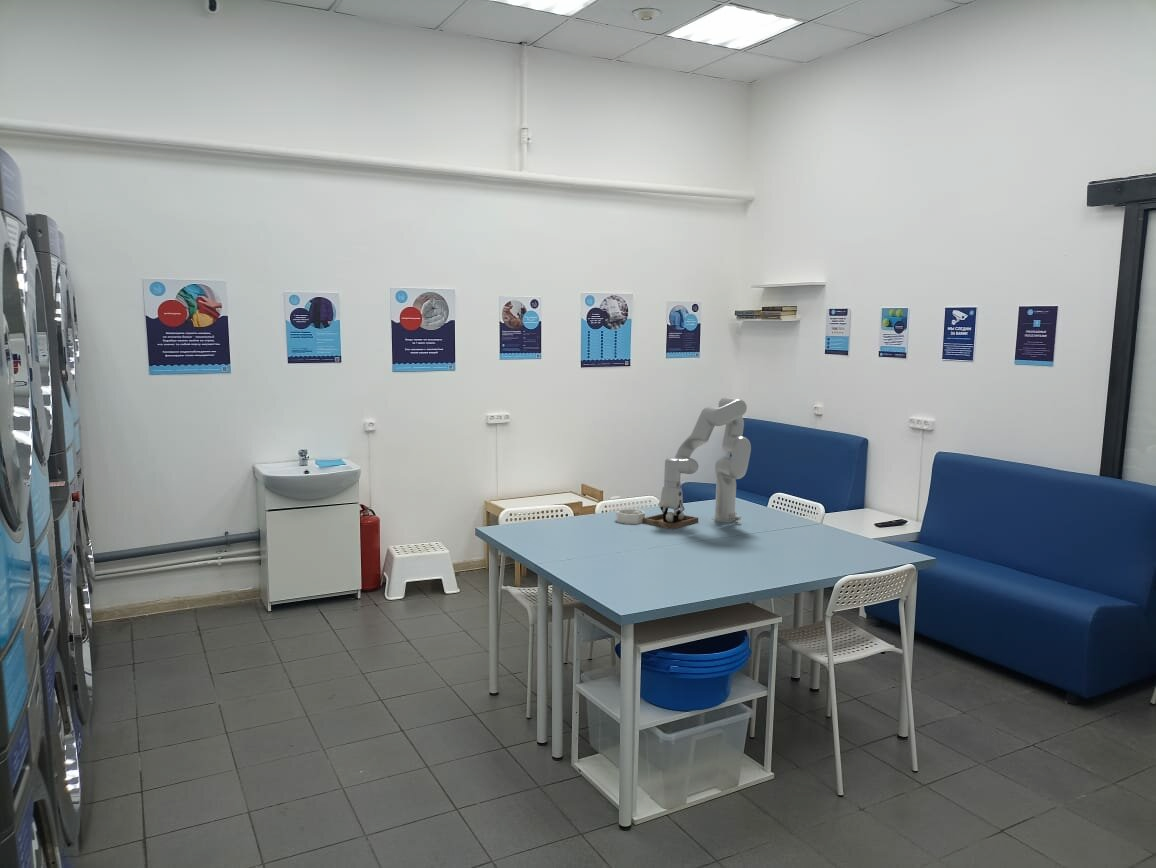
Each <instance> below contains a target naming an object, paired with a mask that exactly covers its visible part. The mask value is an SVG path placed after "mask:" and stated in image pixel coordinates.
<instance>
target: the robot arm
mask: <svg viewBox="0 0 1156 868" xmlns="http://www.w3.org/2000/svg"><path fill="white" fill-rule="evenodd" d="M717 404H718V407H714V406H706V407H703V409H702V410H701V412H700V414H699V416H698V417H697V420H696V423H695V425H694V427H693V430H692V431H691V433H690V435H689V436H688V437H687V438H686V439H685V440H684V441H683V442H682V443H681V445H680V446H679V447H678V449H677V452H676V454H675V456H674V457H668V458H666V459H665V460H664V477H663V479H664V480H663V486H662V489H661V495H660V501H659V502H658V504H657V506H658V507H659V508H660V510H661V512H662V513H661V514H663V521H664V522H665V521H667V520H666V514H667V513H668V512H669V509H671V510H673V513H674V514H675V515H674V516H673V523H677V522H678V520H679V515H680V513H681V512H684V511H685V507H684V498H683V490H682V486H683V483H681V475H682V474H684V475H685V474H686V475H692V474H696V473H697V471H698V470H699V463H698V462H697V460H696V459H694V458H691V456H692V454H693V453H694V451H695V450H696V449H698V448H699V447H701V446H703V445H705V444H707V443H708V442H709V440H710V438H711V435H712V434H713V430H714V429H715V427H721V426H724V425H725V429H724V435H723V439H722V444H721V445H722V450H723V451H724V452H725V453H726V454H730V455H731V456H728V455H724V456H720V457H719V458H718V459H717V460H715V461H716V462H715V467H714V469H715V476H716V477H715V478H716V482H715V483H716V484H715V485H716V486H715V487H716V488H715V502H714V504H715V507H714V516H712V517H711V520H713V521H717V522H721V523H732V524H736V523H737V522H739V521H741V520H742V516H741V515H738V512H737V511H736V496H737V481H736V480H740V479H742V478H744V477H745V475H746V474H747V471H748V468H749V462H750V457H751V452H752V446H751V442H750V440H749V439H748V438H747V437H745V436H743V433H744V427H745V421H744V417H743V416H744V415H745V413H746V412H747V410H748V409H747V407H748V406H747V403H746V402H745V400H743V399H741V398H735V397H727V396H726V397H725V396H724V397H722V398H720V399H719V401H718V403H717Z"/></svg>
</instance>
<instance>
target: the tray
mask: <svg viewBox="0 0 1156 868" xmlns="http://www.w3.org/2000/svg"><path fill="white" fill-rule="evenodd" d="M669 512H670V511H668V513H669ZM697 523H699V517H697V516H692V515H687V514H684V518H683V519H682V520H680V521H678V522H677V523H673V522H672V523H669V522H668V521H665V522H664V521H663V513H660V514H659V513H658V514H655V515H650V516H647V517H646V516H645V518H643V524H646V525H651V526H655V527H660V528H664V529H669V530H675V529H677V528H682V527H686V526H690V525H694V524H697Z"/></svg>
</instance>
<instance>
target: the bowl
mask: <svg viewBox="0 0 1156 868" xmlns="http://www.w3.org/2000/svg"><path fill="white" fill-rule="evenodd" d="M634 511H639V512H641V514H632V512H634ZM615 513H616V518H615V519H616V521H617V523H621V524H622V523H623V524H629V525H630V524H632V525H633V524H634V525H636V524H637V525H639V524H642V523H643V518H646V512H645V511H644V510H641V509H637V508H621V509H618V510H616V512H615ZM643 524H644V523H643Z"/></svg>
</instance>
